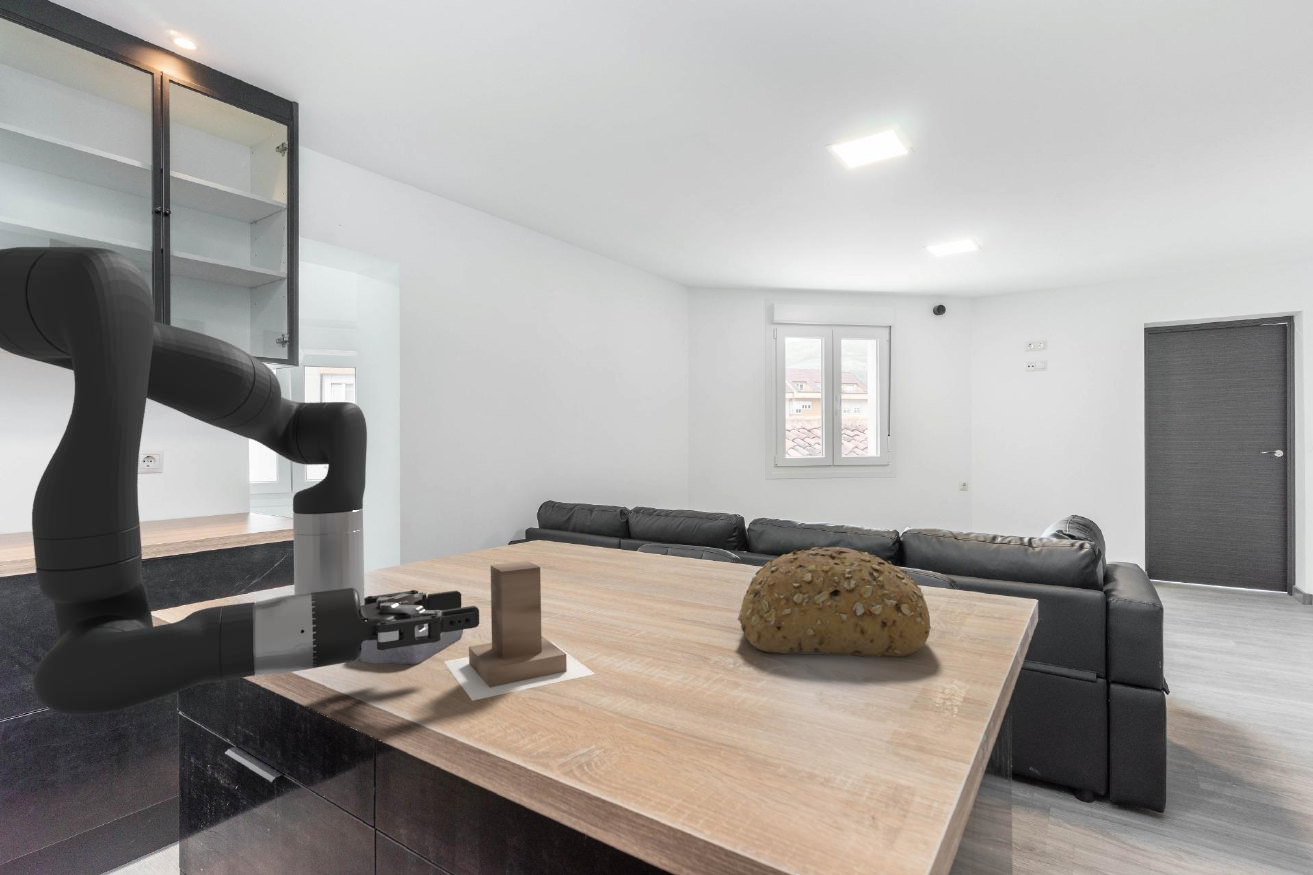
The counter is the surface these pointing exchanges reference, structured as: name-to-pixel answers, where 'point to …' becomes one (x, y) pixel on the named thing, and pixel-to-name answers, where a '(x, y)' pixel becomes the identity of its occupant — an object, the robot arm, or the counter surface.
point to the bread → (834, 606)
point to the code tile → (481, 690)
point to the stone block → (407, 650)
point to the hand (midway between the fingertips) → (469, 607)
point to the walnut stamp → (516, 629)
